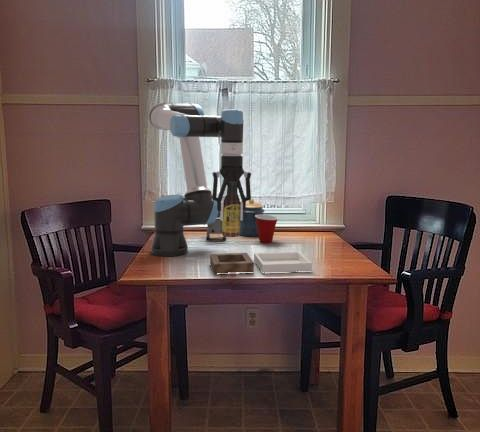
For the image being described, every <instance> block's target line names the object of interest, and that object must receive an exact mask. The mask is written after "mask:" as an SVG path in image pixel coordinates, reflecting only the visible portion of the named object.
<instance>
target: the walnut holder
mask: <svg viewBox="0 0 480 432" xmlns="http://www.w3.org/2000/svg"><path fill="white" fill-rule="evenodd" d="M210 264H211V265H210ZM254 264H255V263H254V260H252V258H251V257H250V255H249V254H248V252H232V253H230V252H227V253H226V252H225V253H210V254H209V265H210V267H212V268H211V270H212V269H213V271H212V273H213V272H214V274H217V273H228V272H254V271H255V268H254V266H255V265H254ZM254 273H255V272H254ZM214 274H213V275H214Z"/></svg>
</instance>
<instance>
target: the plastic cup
mask: <svg viewBox="0 0 480 432" xmlns="http://www.w3.org/2000/svg"><path fill="white" fill-rule="evenodd" d="M255 217H256V222H257V228H258V235H259V236H258V241H259V242H260V243H262V244H270V243H273V239H274V236H275V231H276V230H275V229H276V226H277V222H278V220H279V217H278V216H276V215H270V214H263V215H255Z"/></svg>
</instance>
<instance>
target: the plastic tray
mask: <svg viewBox="0 0 480 432" xmlns="http://www.w3.org/2000/svg"><path fill="white" fill-rule="evenodd" d="M253 262H255V263H256V264H257V266H258V267H259V268H260V270H261V271H262V272H264V273H265V272H296V271H297V272H298V271H312V272H313V262H312V261H310V259H308V258H307V257H306V256H305V255H304V254H303V253H302V252H300V251H281V252H279V251H277V252H276V251H275V252H273V251H272V252H254V253H253ZM255 263H254V264H255ZM256 264H255V265H256ZM257 266H256V267H257ZM258 267H257V268H258ZM259 268H258V269H259ZM260 270H259V271H260ZM261 271H260V272H261Z"/></svg>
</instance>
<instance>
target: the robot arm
mask: <svg viewBox="0 0 480 432" xmlns="http://www.w3.org/2000/svg"><path fill="white" fill-rule="evenodd" d="M148 121H149V123H150V124H151V126H152V127H154V128H156V129H157V130H163V131H169V132H170V133H171V135H172V136H173V137H176V138H177V139H179V143H180V151H181V158H182V165H183V171H184V178H185V185H186V192H185V193H184V195H182V194H178V193H177V194H167V195H162V196H159V197H157V198H156V199H155V200H154V202H153V203H154V205H153V213H154V214H153V215H154V236H153V237H152V238H153V239H152V243H151V245H150V253H151V254H152V255H154V256H158V257H176V256H177V257H178V256H181V255H185V254H187V253H188V252H189V248H188V247H189V246H188V243H187V240H186V237H185V234H184V227H186V226H187V227H188V226H198V225H199V226H200V225H201V226H202V225H203V226H205V225H207V224H210V223H213V222H214V221H215V220H216V219H218V218H217V215H218V211H220V218H219V219H220V220H221V221H223V202H224V201H223V197H224V194H225V192H226V191H225V190H226V188H227V183H228V182H231V181H233V182H236V181H237V185H238V189H237V191H238V194H239V198H240V220H243V211H245V209H246V202H249V200H251V198H252V197H251V196H252V195H251V193H252V191H251V176H252V173H251V172H250V171H245V170H244V168H243V164H244V163H243V159H244V157H243V156H242V155H243V154H244V144H243V143H244V123H245V120H244V112H243V111H242V109H223V110H222V111H221V115H205V112H204V109H203V108H202V107H201V106H200V105H199V104H196V103H190V102H188V103H187V102H186V103H183V102H181V103H180V102H161V103H158V104H156V105H154V106H153V107H152V108H151V109H150V111H149V114H148ZM201 138H221V139H220V141H221V145H220V147H221V149H220V151H221V158H220V160H221V161H220V162H221V163H220V164H221V165H220V169H219V170H218V171H212V177H213V183H212V190H211V189H209V188H208V185H207V178H206V172H205V165H204V164H205V163H204V159H203V153H202V152H203V151H202V148H201V147H202V146H201V140H200V139H201ZM220 175H221V177H223V180H222V184H221V187H220V190H219V193H218V184H219V183H218V181H219V178H220ZM242 176H244V178H245V182H244V183H245V193H244V189H243V186H242V184H241V177H242ZM217 193H218V196H217Z"/></svg>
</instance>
